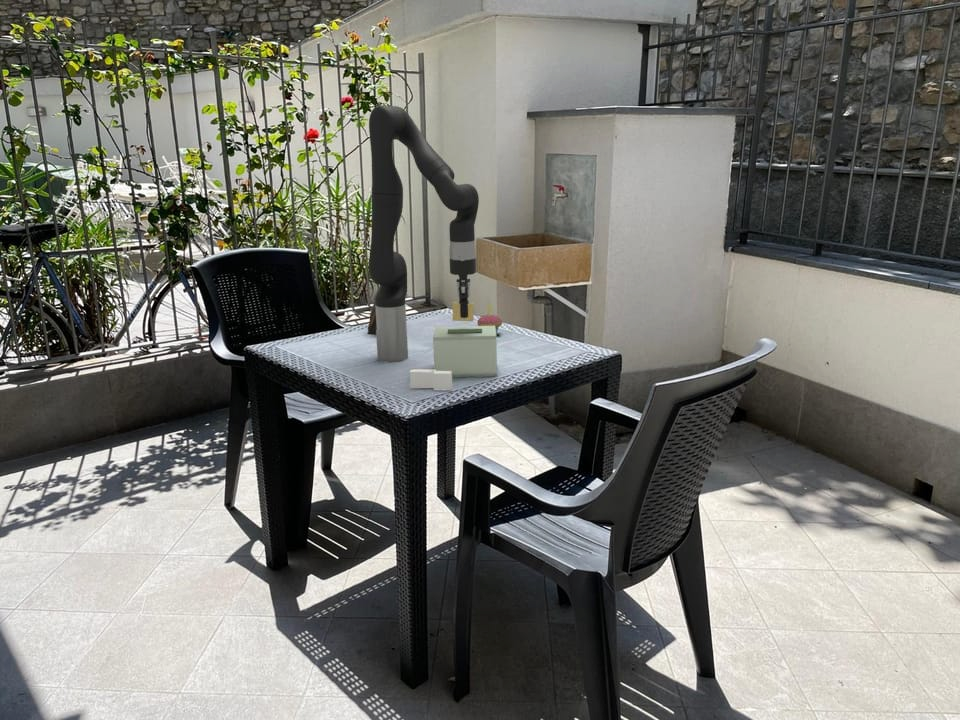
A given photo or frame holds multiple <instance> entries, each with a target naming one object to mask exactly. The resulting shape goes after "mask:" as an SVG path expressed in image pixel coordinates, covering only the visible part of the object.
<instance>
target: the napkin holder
mask: <svg viewBox="0 0 960 720" xmlns="http://www.w3.org/2000/svg"><path fill="white" fill-rule="evenodd" d="M409 379H410V380H409V381H410V382H409V384H410V389H411V388H434V389H439V390H438V391H442V390H441V389H446V390H445V391H449V390H450V389H451V388H452V389H453V377H452V371H436V370H434V369H423V368H422V369H414V368H413V369H412V368H411V369H410V371H409Z"/></svg>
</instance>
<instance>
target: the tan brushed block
mask: <svg viewBox="0 0 960 720" xmlns="http://www.w3.org/2000/svg"><path fill="white" fill-rule="evenodd" d="M474 307H475V302H474V301H469V304H468V317H467V318H461V317H460V304H459V301H453V302H452V321H453V322H454V321H455V322H474V310H475V308H474Z"/></svg>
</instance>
